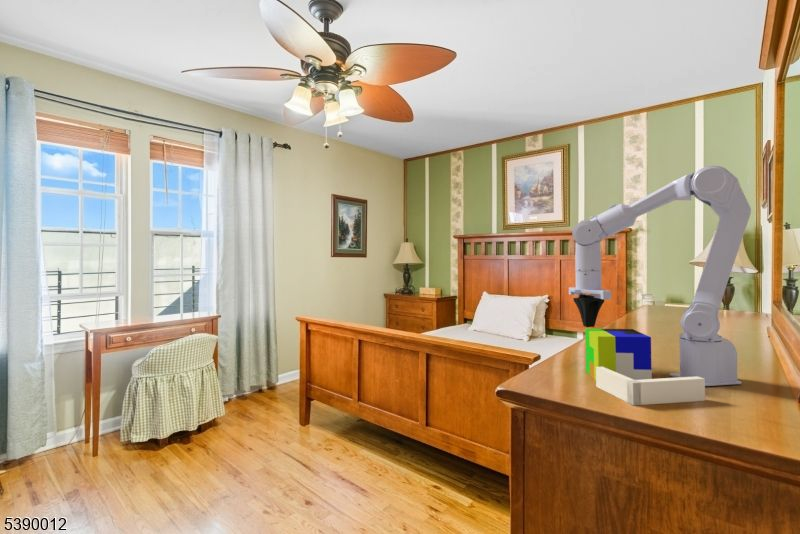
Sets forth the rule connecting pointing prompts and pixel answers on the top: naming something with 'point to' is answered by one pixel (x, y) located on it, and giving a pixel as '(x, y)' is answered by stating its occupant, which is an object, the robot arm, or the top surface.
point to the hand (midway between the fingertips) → (588, 326)
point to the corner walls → (650, 388)
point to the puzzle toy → (619, 352)
